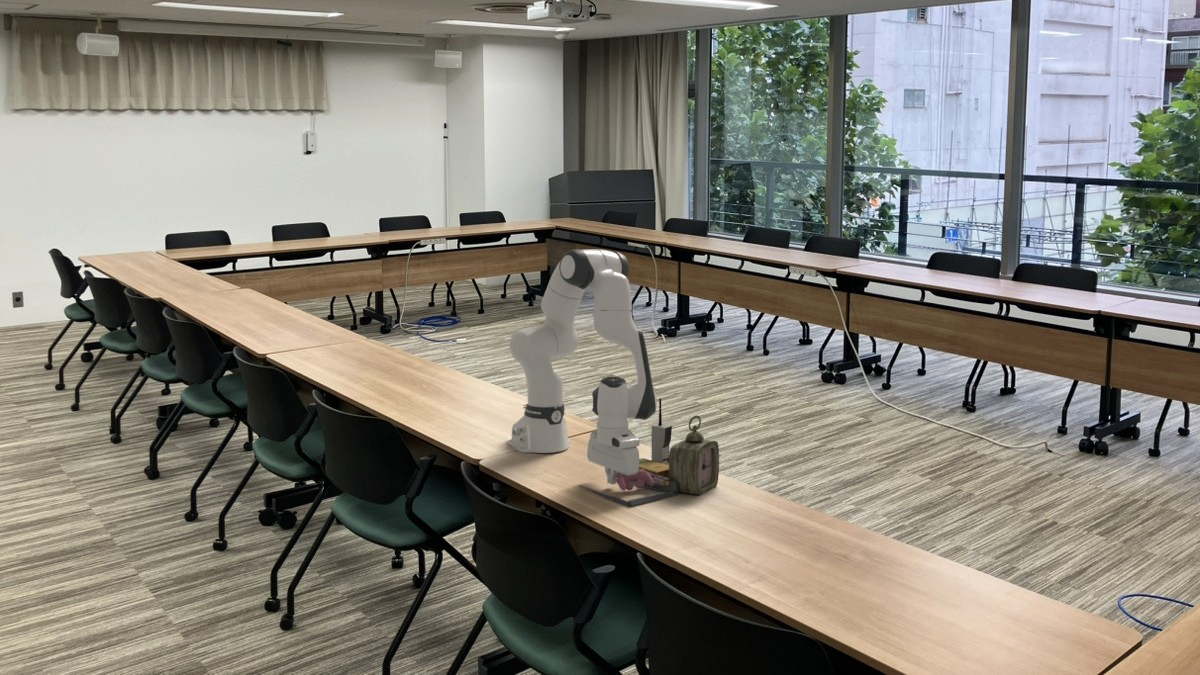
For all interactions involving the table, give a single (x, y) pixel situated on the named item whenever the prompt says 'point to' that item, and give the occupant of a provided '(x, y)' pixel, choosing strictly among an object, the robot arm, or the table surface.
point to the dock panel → (660, 484)
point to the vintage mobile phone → (661, 440)
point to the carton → (654, 467)
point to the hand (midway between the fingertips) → (611, 483)
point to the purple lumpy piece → (641, 478)
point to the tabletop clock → (694, 462)
